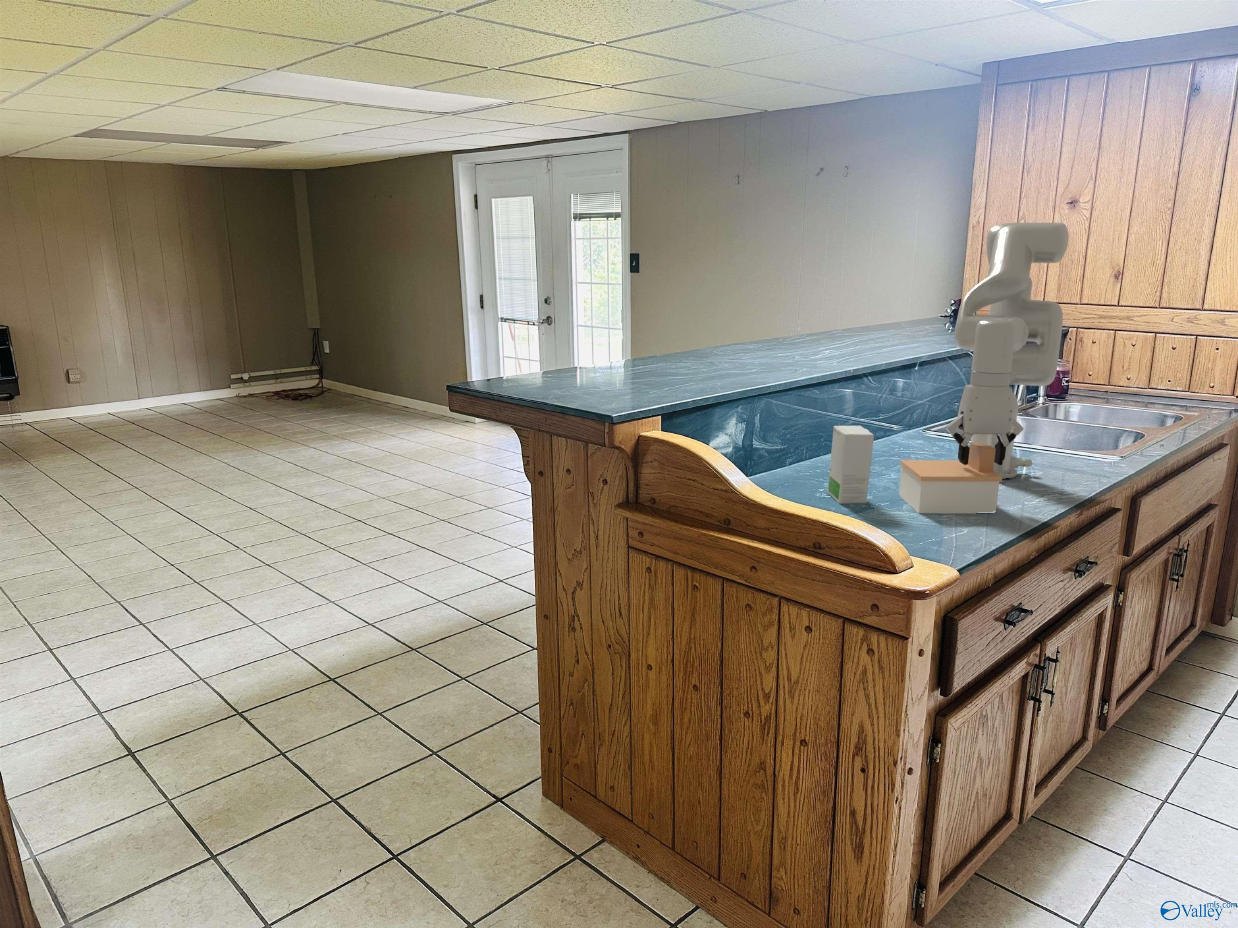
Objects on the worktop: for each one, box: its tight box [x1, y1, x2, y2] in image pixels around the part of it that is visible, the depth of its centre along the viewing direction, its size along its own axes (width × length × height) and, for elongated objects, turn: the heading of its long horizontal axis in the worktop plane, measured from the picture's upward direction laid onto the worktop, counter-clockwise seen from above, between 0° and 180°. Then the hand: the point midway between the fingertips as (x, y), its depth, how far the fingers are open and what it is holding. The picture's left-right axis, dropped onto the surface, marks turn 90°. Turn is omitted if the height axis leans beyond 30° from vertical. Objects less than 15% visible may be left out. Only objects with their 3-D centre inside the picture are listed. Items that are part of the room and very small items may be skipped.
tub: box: [898, 466, 1000, 514], centre depth 183 cm, size 16×13×7 cm
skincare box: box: [827, 425, 875, 505], centre depth 186 cm, size 8×7×16 cm
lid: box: [899, 441, 1003, 483], centre depth 182 cm, size 17×14×7 cm
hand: (980, 462), depth 182 cm, fingers open, 6 cm apart
